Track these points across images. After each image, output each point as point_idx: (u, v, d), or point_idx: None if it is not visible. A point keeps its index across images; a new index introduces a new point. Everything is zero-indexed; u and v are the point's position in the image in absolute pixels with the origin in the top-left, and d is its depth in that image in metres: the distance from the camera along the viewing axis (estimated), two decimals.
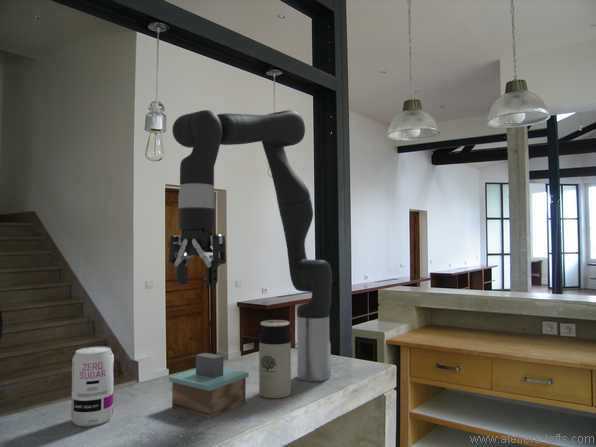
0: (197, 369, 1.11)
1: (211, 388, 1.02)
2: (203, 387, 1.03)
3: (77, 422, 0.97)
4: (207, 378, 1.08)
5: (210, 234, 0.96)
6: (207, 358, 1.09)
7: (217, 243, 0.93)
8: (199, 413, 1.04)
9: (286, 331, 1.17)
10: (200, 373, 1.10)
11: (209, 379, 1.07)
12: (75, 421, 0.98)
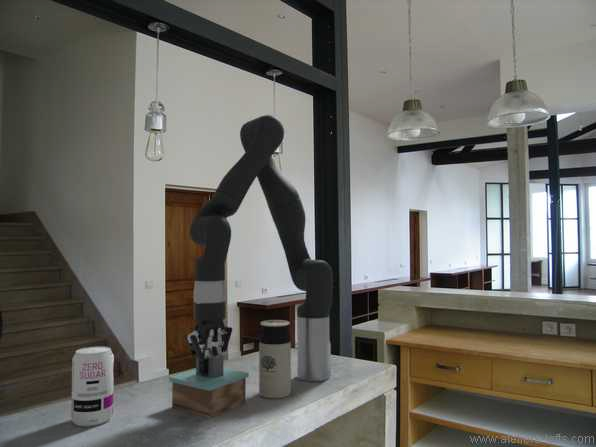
0: (197, 369, 1.11)
1: (211, 388, 1.02)
2: (203, 387, 1.03)
3: (77, 422, 0.97)
4: (207, 378, 1.08)
5: None
6: None
7: None
8: (199, 413, 1.04)
9: (286, 331, 1.17)
10: None
11: (209, 379, 1.07)
12: (75, 421, 0.98)
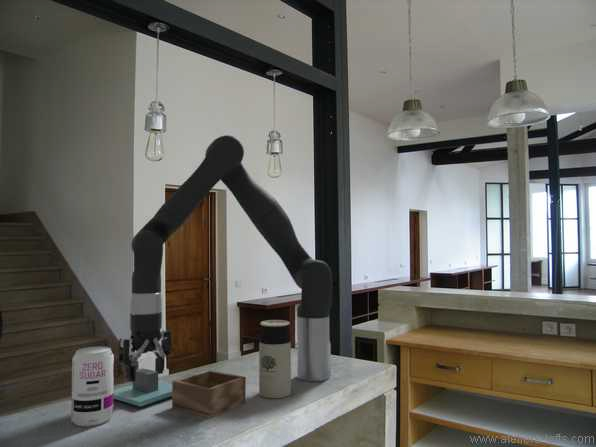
0: (133, 384, 1.16)
1: (142, 404, 1.08)
2: (134, 402, 1.08)
3: (77, 422, 0.97)
4: (142, 393, 1.13)
5: None
6: (142, 374, 1.15)
7: None
8: (199, 413, 1.04)
9: (286, 331, 1.17)
10: (136, 388, 1.16)
11: (143, 394, 1.12)
12: (75, 421, 0.98)
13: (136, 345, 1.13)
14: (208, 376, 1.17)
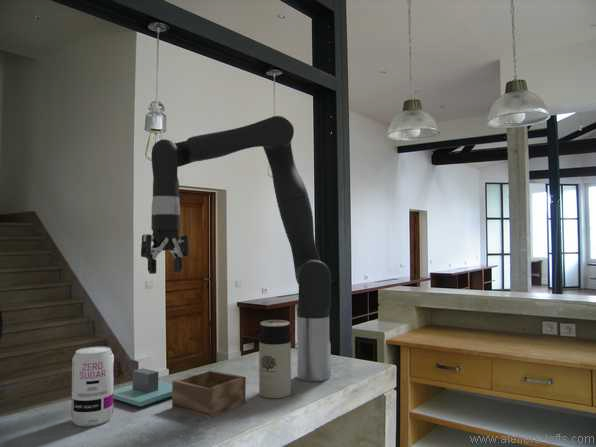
0: (133, 384, 1.16)
1: (142, 404, 1.08)
2: (134, 402, 1.08)
3: (77, 422, 0.97)
4: (142, 393, 1.13)
5: None
6: (142, 374, 1.15)
7: None
8: (199, 413, 1.04)
9: (286, 331, 1.17)
10: (136, 388, 1.16)
11: (143, 394, 1.12)
12: (75, 421, 0.98)
13: (157, 241, 1.25)
14: (208, 376, 1.17)
